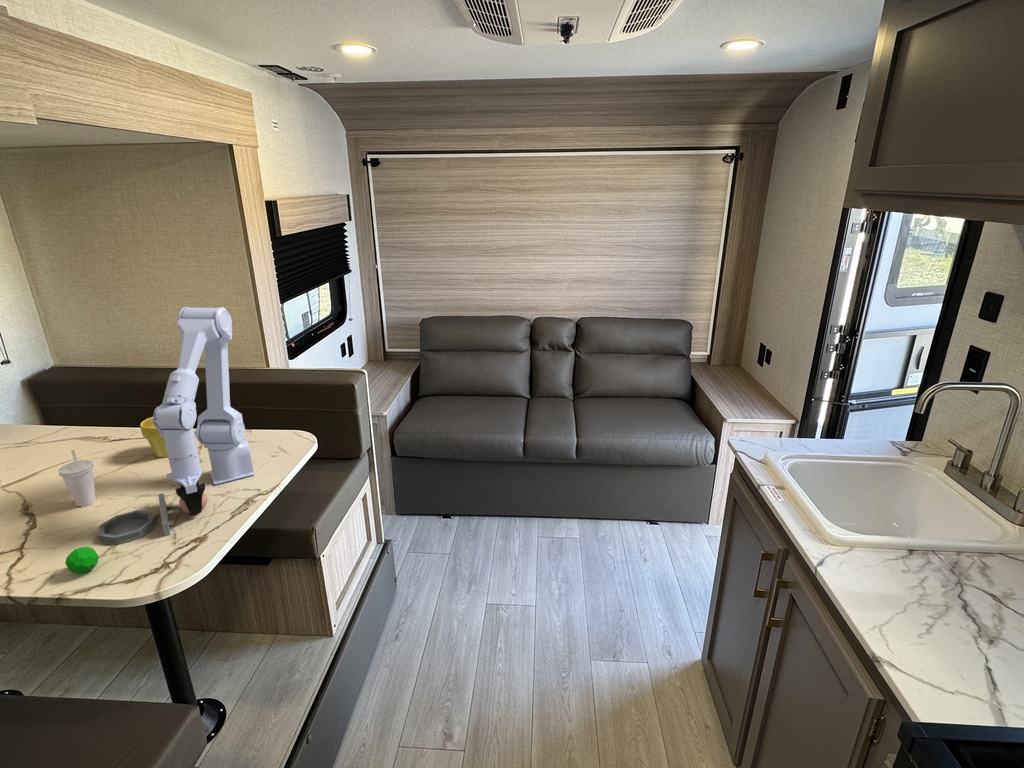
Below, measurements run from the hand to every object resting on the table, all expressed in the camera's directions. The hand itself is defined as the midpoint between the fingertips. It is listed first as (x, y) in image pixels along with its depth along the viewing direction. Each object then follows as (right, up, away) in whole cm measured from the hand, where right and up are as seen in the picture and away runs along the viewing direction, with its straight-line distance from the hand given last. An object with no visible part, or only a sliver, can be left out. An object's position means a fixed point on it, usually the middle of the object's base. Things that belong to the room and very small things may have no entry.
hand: (194, 506), depth 123 cm
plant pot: (-24, +9, +27) cm, 37 cm away
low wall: (-5, -2, -3) cm, 6 cm away
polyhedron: (-10, -8, -19) cm, 23 cm away
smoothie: (-28, 0, +3) cm, 28 cm away
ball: (0, -1, 0) cm, 1 cm away
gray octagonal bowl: (-11, -4, -7) cm, 13 cm away
